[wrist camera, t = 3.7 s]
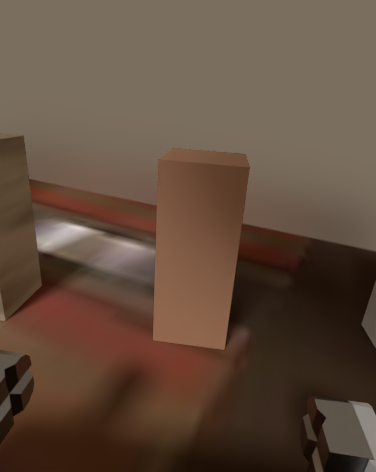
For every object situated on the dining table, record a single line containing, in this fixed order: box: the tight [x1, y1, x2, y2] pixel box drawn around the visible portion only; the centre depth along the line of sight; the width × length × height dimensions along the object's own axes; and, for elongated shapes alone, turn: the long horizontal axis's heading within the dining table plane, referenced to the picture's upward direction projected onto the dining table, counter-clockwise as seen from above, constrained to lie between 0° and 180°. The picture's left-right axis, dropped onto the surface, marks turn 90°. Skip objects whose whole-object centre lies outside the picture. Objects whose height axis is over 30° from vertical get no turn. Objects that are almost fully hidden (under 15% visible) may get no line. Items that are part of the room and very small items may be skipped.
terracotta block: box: [153, 148, 250, 350], centre depth 20 cm, size 4×4×11 cm
